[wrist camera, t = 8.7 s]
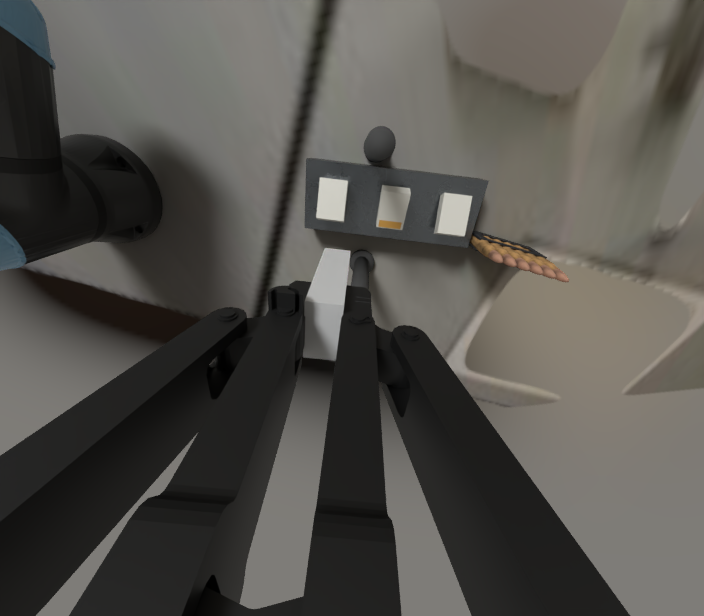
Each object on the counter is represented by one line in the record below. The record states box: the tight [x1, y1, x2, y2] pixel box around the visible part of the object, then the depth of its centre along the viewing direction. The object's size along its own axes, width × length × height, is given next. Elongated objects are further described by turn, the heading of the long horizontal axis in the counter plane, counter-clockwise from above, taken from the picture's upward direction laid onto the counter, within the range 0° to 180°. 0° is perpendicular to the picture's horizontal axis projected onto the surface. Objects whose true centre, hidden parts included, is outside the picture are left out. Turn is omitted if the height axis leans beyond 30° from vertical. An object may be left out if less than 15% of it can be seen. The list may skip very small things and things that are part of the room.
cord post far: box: [350, 250, 374, 289], centre depth 39 cm, size 4×4×19 cm
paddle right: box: [434, 193, 472, 237], centre depth 37 cm, size 4×5×2 cm
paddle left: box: [316, 177, 348, 223], centre depth 37 cm, size 4×5×2 cm
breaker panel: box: [305, 158, 488, 248], centre depth 41 cm, size 24×9×4 cm, turn 84°
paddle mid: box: [376, 185, 411, 230], centre depth 37 cm, size 4×5×2 cm
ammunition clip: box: [469, 230, 569, 282], centre depth 40 cm, size 11×2×12 cm, turn 75°
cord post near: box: [364, 126, 395, 162], centre depth 31 cm, size 4×4×19 cm
